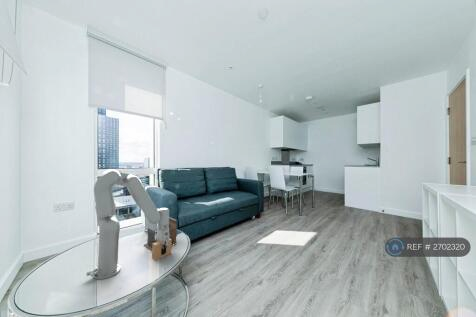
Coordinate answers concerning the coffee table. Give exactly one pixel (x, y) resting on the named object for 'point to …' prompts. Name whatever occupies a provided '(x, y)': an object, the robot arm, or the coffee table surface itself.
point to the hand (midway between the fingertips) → (161, 252)
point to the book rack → (172, 234)
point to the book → (157, 250)
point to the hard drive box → (150, 225)
